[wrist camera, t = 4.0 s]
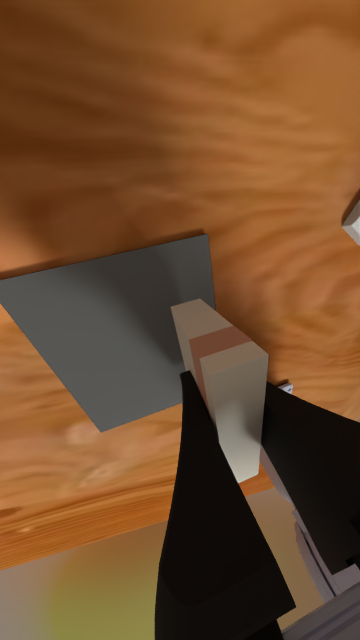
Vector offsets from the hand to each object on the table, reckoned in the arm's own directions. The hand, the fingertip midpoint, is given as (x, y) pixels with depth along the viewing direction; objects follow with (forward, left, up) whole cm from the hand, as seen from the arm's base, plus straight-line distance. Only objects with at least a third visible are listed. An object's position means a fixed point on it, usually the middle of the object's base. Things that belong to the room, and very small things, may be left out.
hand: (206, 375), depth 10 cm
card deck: (0, 0, -2) cm, 2 cm away
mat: (0, +4, -5) cm, 6 cm away
